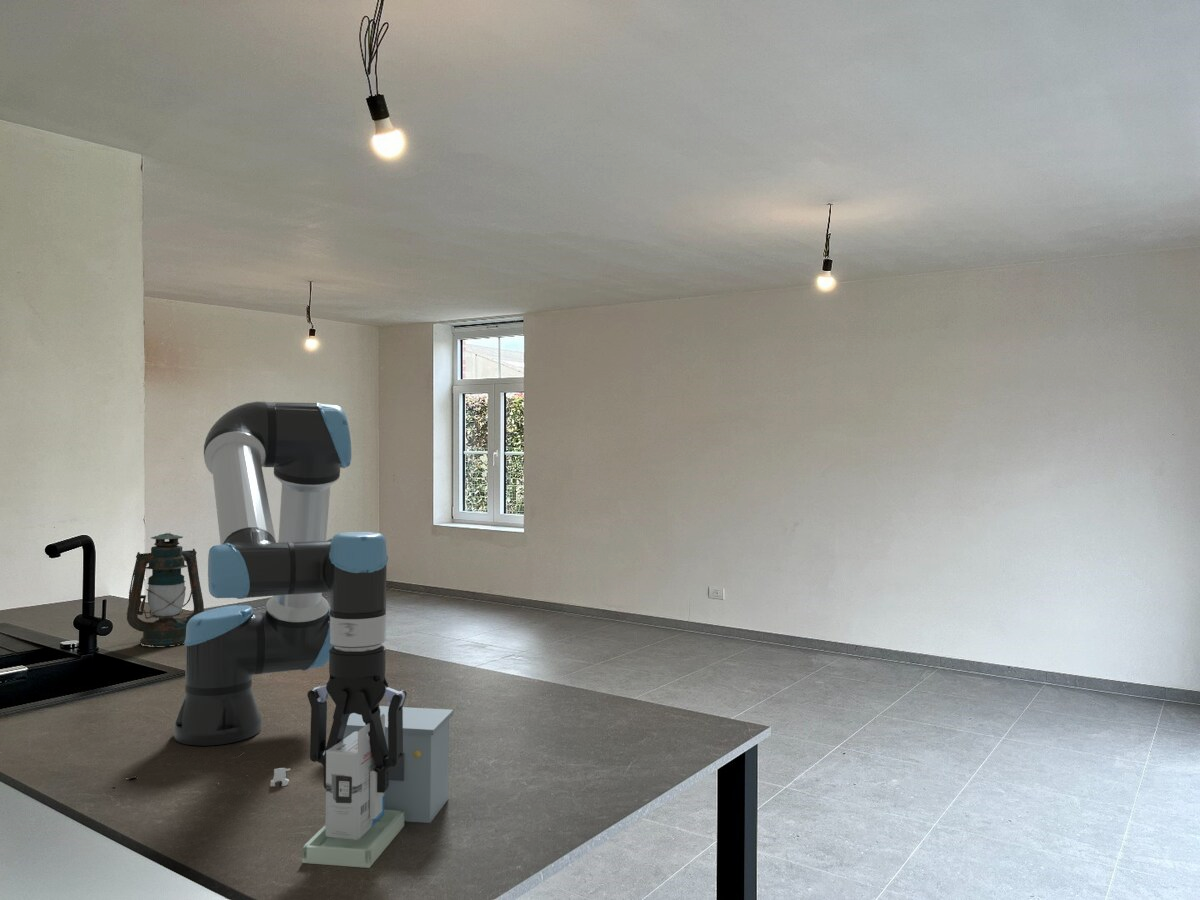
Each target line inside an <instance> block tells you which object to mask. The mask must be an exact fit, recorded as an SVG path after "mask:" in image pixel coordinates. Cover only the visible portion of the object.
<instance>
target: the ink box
mask: <svg viewBox="0 0 1200 900" xmlns="http://www.w3.org/2000/svg"><path fill="white" fill-rule="evenodd" d="M380 718H381V723H382V727H383V731H384V735H385V715H384V713H383V714H382V715H380ZM369 731H370V723H368V724H367V725H365V726H364V727H363V728H361V729H360V730H359V731H358V732H357V731H355V732H353V733H352V734H350V735H349V736H347V737H346V738H345V739H343V740H342V741H340V742H339V743H337V744H336V745H334V746H333V747H331V748H330V749H328V750H327V751H326V789H325V825H326V837H334V838H343V839H353V840H358V839H360V838H361V837H362V836H363V835H364V834H365V833H366V832H367V831H368V830H369V829H370V828H371V827H372V826H373V825H374V824H375V823H376V822H377V821H378V820H379V819H380V818H381V817H382V816H383V815H384V793H382V812H381V813H380V814H379V815H378V816H377V817H376V818H375V819H370V771H371V770H372V769H373V768H374V767H375V762H374V758H373V754H372V750H371V745H370V737H369V736H368V732H369Z"/></svg>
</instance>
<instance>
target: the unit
mask: <svg viewBox="0 0 1200 900" xmlns="http://www.w3.org/2000/svg"><path fill="white" fill-rule="evenodd" d="M379 708H380V715H382V714H383V713H384V715H385V739H386V744H387V748H388V710H389V706H388V705H379ZM453 716H454V709H448V708H446V709H445V708H430V707H429V708H428V707H427V708H423V707H408V706H406V707H405V706H403V758H402V760H401V761H400V762H399V763H398V764H397V765H395V766H393V767H392V766H391V767H389V786H388V789H387V790H386V791H385V792H384V810H396V811H404V822H409V823H424V824H431V823H432V821H433V820H434V819H435V817H436V816H437V815H438V813H439V812H440V811H441V810H442V808H443V807H444V805H445V804H446V803H447V802H448V800H449V790H450V789H449V788H450V786H449V785H450V782H449V780H450V777H449V776H450V773H449V771H450V767H449V765H450V719H451V718H452V717H453ZM365 725H366V724H365V723H364V722H363V719H362V715H359V714H356V713H352V714H350V716H349V718H348V722H347V726H346V729H345V733H344V737H343V739H345V738H346V737H347V736H349V735H350V734H352V733H353V732H355V731H357V732H358V731H359V730H360V729H361V728H363V727H364V726H365Z"/></svg>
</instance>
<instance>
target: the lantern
mask: <svg viewBox="0 0 1200 900" xmlns="http://www.w3.org/2000/svg"><path fill="white" fill-rule="evenodd" d="M182 538H184V536H182V535H177V534H173V533H171V532H165V533H163V534H158V535H155V536H151V537H150V539H153V540H155V542H154V544H153V545H154V546H152V547H150V552H146V553H140V551H137V554H136V556H135V558H136V560H135V564H134V568H133V570H132V571H133V572H132V576H131V581H130V586H129V592H128V606H127V610H126V621H127V622H128V625H129V626H130V627H131V628H132V629H134V630H136V631H139V632H142V634H143V635H142V637H141V638H140V641H139V644H140V643H142V644H144V645H151V646H152V645H153V646H170V645H178V644H183V643H184V642H185V640H186V626H187V623H188V621H189V620H190V619H191V618H192V617H193V616H195V615H197V614H199V613H201V612H204V611H205V607H204V606H205V605H204V599H203V593H202V587H201V583H200V576H199V568H198V561H197V553H198V552H197V551H196V549H195V548H192V549H191V550H183V546H181V545H180V542H179V539H182ZM167 540H168V541H167ZM185 562H186V565H185ZM147 565H148V566H147ZM183 568H187V573H188V579H189V584H190V585H189V587H190V593H189V597H188V600H187V601H186V603H185V598H186V589H187V586H185V585H186V584H185V583H186V580H185V575H183V574H182V569H183ZM146 570H151V572H152V575H150V576H149V577H148V579H147V580H148V581H147V585H148V588H146V591H147V595H144V594H143V595H142V592H143V586H144V580H145V575H146ZM191 597H192V602H193V603H192V604H193V612H189V613H184V612H183V611H184V610H183V608H184V607H185V606H186V605H187V604H188V603H189V602H190V601H191ZM146 598H147V605H148V607H149V611H146V610H145V604H146V603H145V602H146ZM143 614H144V617H145V619H147V620H148V619H149V620H150V619H151V618H156V619H157V620H155V621H152V622H151V621H149V622H148V621H144V620H142V619H140V618H139V617H138V615H139V616H143ZM147 614H149V616H148V617H147ZM179 616H183V617H181V618H177V617H179Z"/></svg>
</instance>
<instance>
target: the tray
mask: <svg viewBox="0 0 1200 900" xmlns="http://www.w3.org/2000/svg"><path fill="white" fill-rule="evenodd" d="M404 827H405V821H404V811H396V810H384V815H383V816H382V817H381V818H380V819H379V820H378V821H377V822H376V823H375V824H374V825H373V826H372V827H371V828H370V829H369V830H368V831H367V832H366V833H365V834H364V835H363V836H362V837H361V838H360V839H358V840H353V839H343V838H334V837H326V824H324V825H323V826H322V827H321V828H320V829H319V830H318V831H317V832H316V833H315V834H314V835H313V836H312V837H311V838H310V839H309V840H308V841H307V842H306V843H305V844H304V845H303V846H302V848H301V850H302V853H301V855H302V857H301V858H302V859H301V860H302V862H301V863H302V864H312V865H313V864H314V865H324V866H325V865H328V866H336V867H338V866H339V867H340V866H341V867H350V868H352V867H354V868H367V869H370V868H371V866H372V865H373V864H374V863H375V862H376V860H378V858H379V857H380V856H381V855H382V853H383V852H384V851H385V850H386V848H387V847H388V846H389V845H390V844H391V842H392V841H393V840H394V838H395V837H396V836H397V835H398V834H399V833H400V832H401V830H402V829H403V828H404Z"/></svg>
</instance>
